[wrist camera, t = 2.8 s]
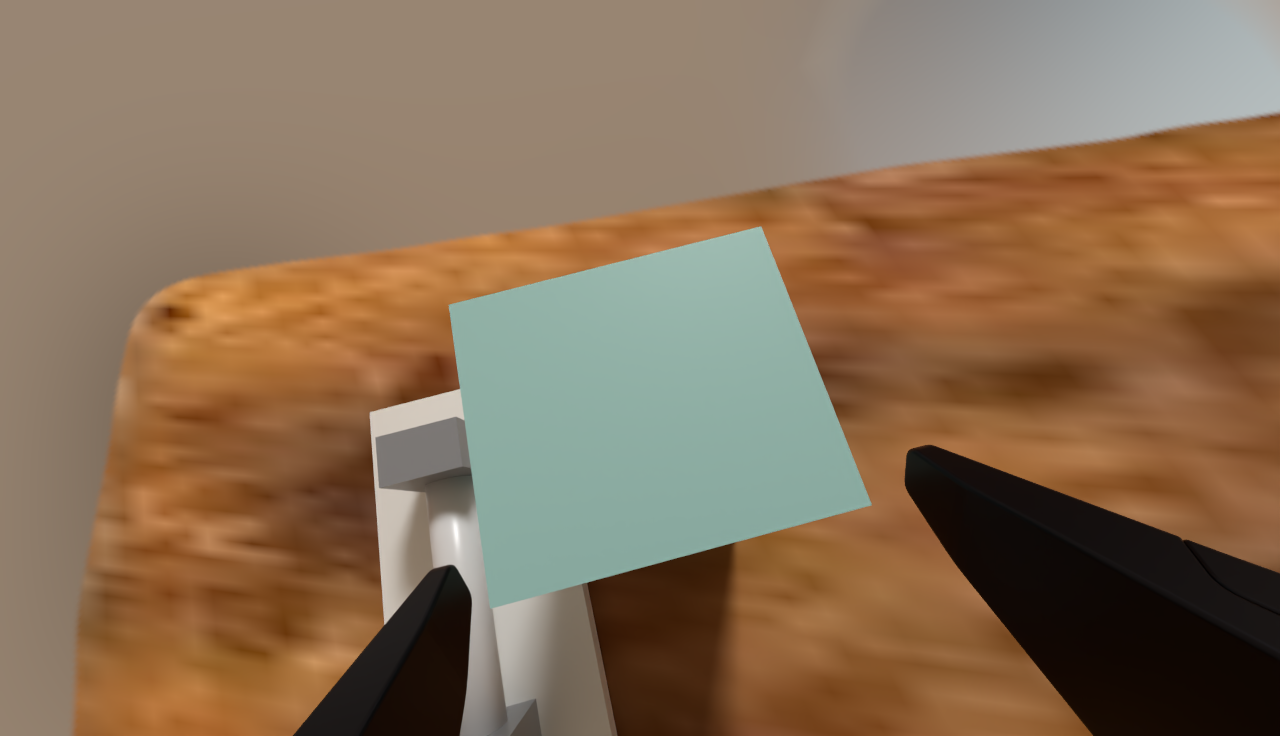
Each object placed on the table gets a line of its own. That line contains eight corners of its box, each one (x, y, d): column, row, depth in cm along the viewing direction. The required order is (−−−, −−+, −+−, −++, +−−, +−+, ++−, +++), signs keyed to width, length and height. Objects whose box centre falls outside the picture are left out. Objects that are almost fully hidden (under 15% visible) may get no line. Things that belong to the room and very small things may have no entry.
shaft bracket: (630, 801, 15) (617, 916, 11) (419, 861, 15) (319, 1003, 10) (545, 375, 20) (512, 337, 15) (384, 417, 19) (304, 389, 15)
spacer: (736, 511, 18) (872, 504, 6) (604, 547, 17) (489, 609, 6) (702, 400, 19) (761, 226, 7) (579, 432, 19) (448, 304, 7)
